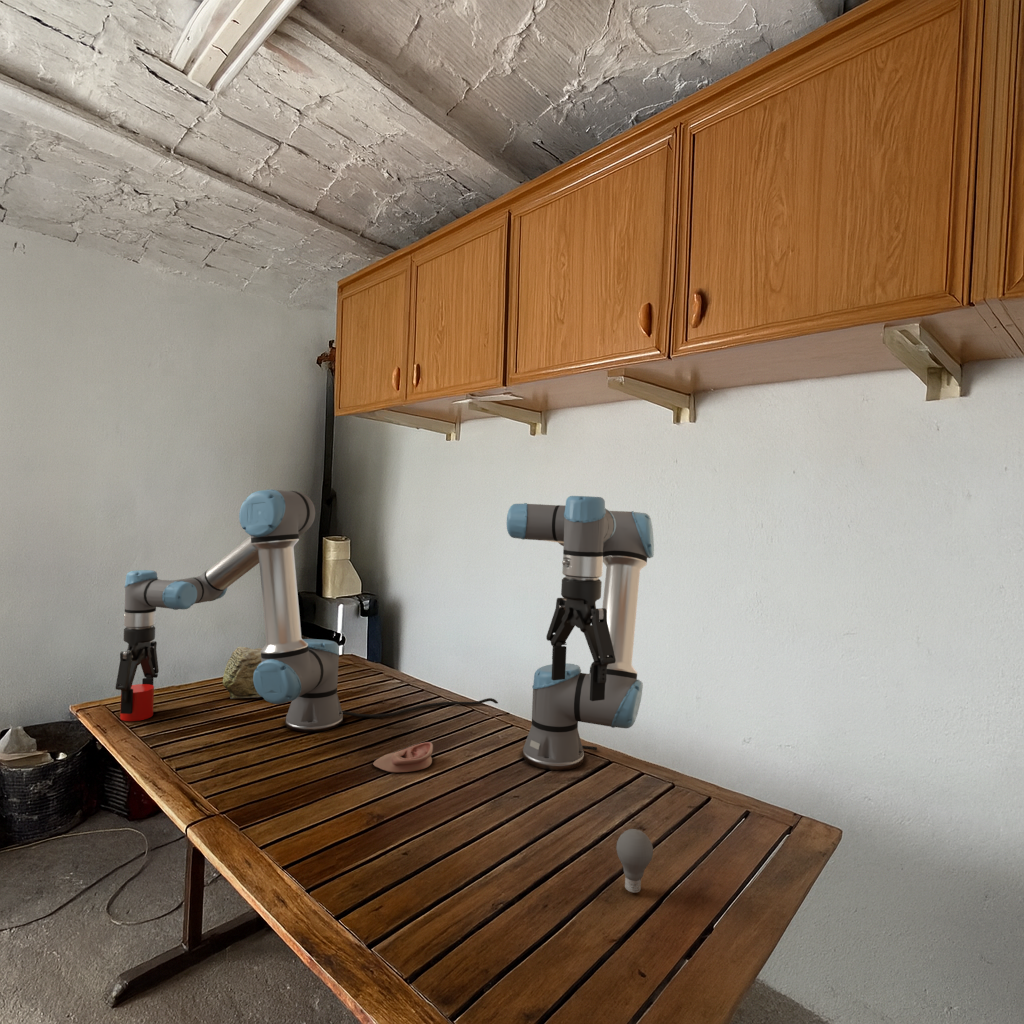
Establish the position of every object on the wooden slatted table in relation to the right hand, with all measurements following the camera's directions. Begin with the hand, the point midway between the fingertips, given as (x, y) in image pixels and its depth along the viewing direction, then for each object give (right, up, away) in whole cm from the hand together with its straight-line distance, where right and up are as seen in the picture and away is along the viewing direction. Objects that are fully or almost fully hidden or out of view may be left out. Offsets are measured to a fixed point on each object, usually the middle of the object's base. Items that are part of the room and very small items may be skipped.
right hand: (576, 689), depth 120 cm
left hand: (-116, -20, +55) cm, 130 cm away
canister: (-116, -23, +55) cm, 131 cm away
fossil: (-93, -24, +78) cm, 124 cm away
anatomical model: (-38, -27, +32) cm, 57 cm away
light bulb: (+8, -30, -14) cm, 34 cm away
